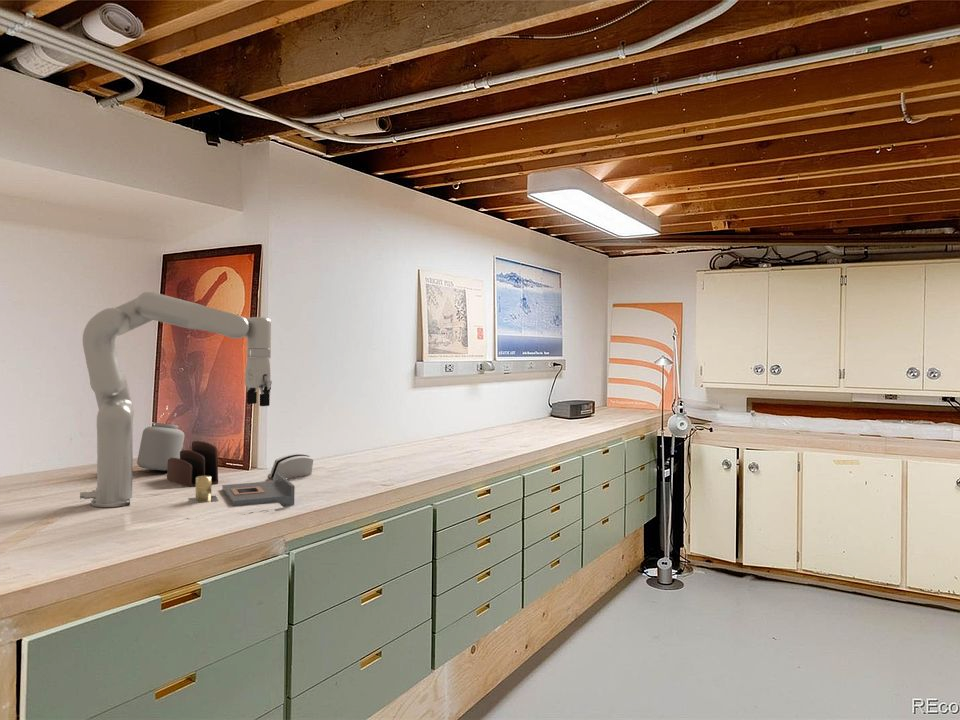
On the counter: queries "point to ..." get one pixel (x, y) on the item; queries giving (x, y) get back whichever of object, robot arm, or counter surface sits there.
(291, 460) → the grey rounded block
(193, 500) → the gray square slab
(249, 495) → the plate
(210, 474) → the letter holder
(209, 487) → the barrel peg
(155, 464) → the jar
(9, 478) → the counter surface
